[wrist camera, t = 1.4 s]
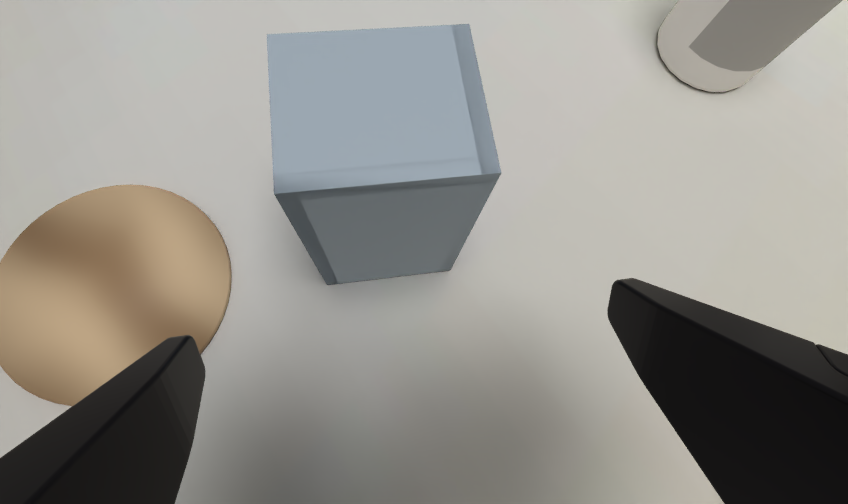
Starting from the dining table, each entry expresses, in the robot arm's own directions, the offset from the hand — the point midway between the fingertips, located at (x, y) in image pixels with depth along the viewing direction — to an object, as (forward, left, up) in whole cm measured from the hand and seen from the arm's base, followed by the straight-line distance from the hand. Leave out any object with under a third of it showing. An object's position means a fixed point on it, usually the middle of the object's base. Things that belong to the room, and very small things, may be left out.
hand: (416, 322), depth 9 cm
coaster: (-2, +14, -13) cm, 19 cm away
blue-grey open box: (+6, +3, -13) cm, 15 cm away
